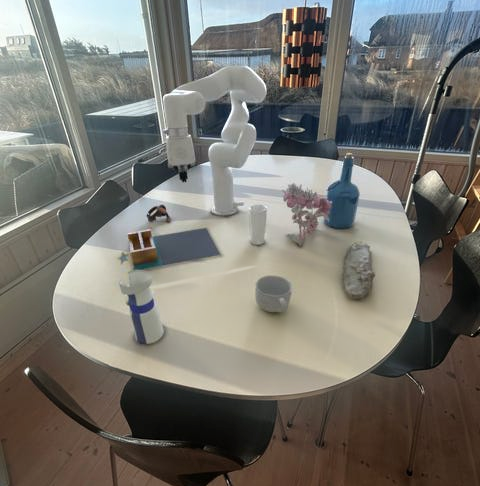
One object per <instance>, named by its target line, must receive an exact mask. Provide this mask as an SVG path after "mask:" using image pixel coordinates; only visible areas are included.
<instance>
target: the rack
mask: <svg viewBox="0 0 480 486" xmlns="http://www.w3.org/2000/svg"><path fill="white" fill-rule="evenodd" d="M152 237H153V234H152V230H151V229H144V230H138V231H132V232H127V238H128V244H129V249H130V251H129V252H130V253H129V254H130V257H131V261H132V264H133V266H134V265H138V264H143V263H148V262H153V261H158V256H157V251H156V247H155V245H154V241H153V238H152Z"/></svg>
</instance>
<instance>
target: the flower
mask: <svg viewBox="0 0 480 486" xmlns="http://www.w3.org/2000/svg"><path fill="white" fill-rule="evenodd" d="M302 186H303V184H299V186H298V185H297V184H296V183H295V182H293V183H291V184H287V188H286V190H285V189H282V190H281V192H283V193H284V195H283V198H282V199H283V202H284V203H286V207H287V208H290V209H291V210H290V212H291V213H292V217H291V219H292V224H297V225H298V229H299V231H298V232H299V233H296V232H289V233H287V236H289V237H290V239H291V240H292V241H293V242H296V243H297V244H299V247H301V245H302V243H303V242H304V239H305V238H306V236H307V235H308V233H309V232H312V231H313V230H315V229H316V228H317V227H318V226H319V224H320V222H319V220H318V218H321V217H323V219H324V218H325V219H326V220H328V222H329V218H328V217H327V216H328V215H329V213H330V211H329V209H331V207H332V206H331V204H332V201H328V200H327V198H328V197H327V196H326V197H324V196H320V197H318V196H317V195H318V192H317V191H314V193H313V189H312V188H311V189H309V188H306V190H304V189H303V188H302ZM326 200H327V201H326ZM305 208H306V209H307V210H304V209H305ZM328 208H329V209H328ZM313 209H314V210H315V212H314V213H313V212H312V211H309V210H313ZM302 217H304V219H305V220H303V218H302ZM302 228H303V229H302Z"/></svg>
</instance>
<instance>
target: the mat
mask: <svg viewBox="0 0 480 486" xmlns="http://www.w3.org/2000/svg"><path fill="white" fill-rule="evenodd" d="M152 238H153V241H154V245H155V247H156V251H157V256H158V261H153V262H148V263H143V264H138V265H133V270H148V269H153V268H159V267H163V266H168V265H169V266H170V265H174V264H179V263H184V262H188V261H189V262H190V261H196V260H199V259H205V258H206V259H207V258H211V257H215V256H221V253H220V251H219V249H218V247H217V245H216V244H215V242H214V240H213V238H212V236H211V234H210V233H209V231H208V229H207V227H204V228H198V229H197V228H196V229H192V230H185V231H180V232H174V233H168V234H162V235H161V234H160V235H155V236H152Z"/></svg>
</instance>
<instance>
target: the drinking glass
mask: <svg viewBox="0 0 480 486" xmlns="http://www.w3.org/2000/svg"><path fill="white" fill-rule="evenodd" d="M267 208H268V207H267V206H266V205H263V204H252V205H250V206H249V207H248V221H249V230H250V243H251V244H252V245H255V246H259V245H260V246H261V245H263V244H264V242H265V234H266V226H267V215H268V212H267V210H268V209H267Z"/></svg>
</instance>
